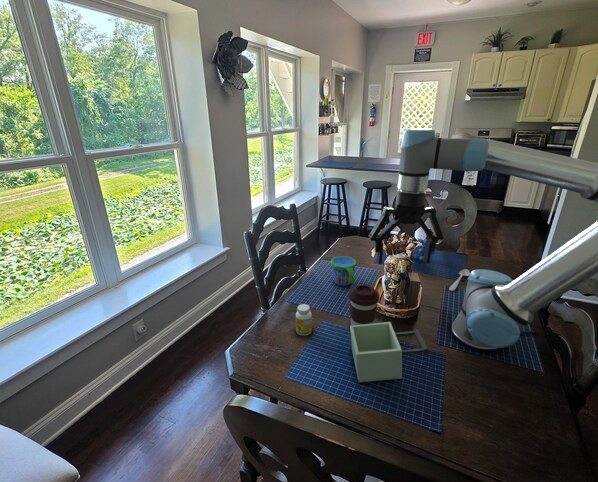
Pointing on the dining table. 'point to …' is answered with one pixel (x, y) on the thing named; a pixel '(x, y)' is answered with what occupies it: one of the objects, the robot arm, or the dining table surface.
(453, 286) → the spoon
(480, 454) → the dining table surface
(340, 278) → the snack cup
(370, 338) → the pale green square box
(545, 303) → the robot arm
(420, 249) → the grapes
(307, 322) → the supplement bottle
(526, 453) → the dining table surface
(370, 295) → the coffee cup
